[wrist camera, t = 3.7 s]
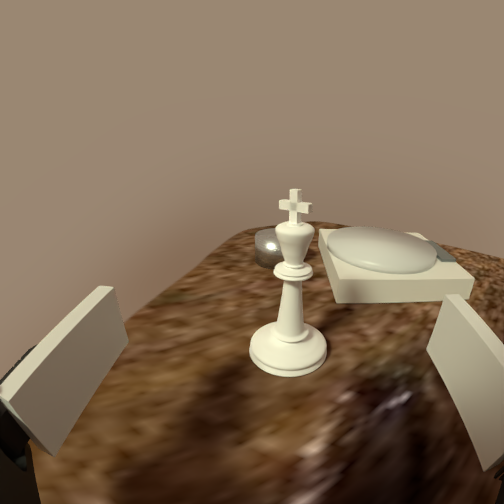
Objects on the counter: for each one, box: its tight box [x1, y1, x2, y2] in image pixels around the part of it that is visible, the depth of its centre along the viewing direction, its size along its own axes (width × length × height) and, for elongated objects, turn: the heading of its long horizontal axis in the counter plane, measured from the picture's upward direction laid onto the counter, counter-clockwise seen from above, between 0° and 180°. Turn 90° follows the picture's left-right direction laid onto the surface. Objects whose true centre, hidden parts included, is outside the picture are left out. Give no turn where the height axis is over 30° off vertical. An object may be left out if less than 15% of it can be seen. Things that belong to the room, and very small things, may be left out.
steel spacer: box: [255, 228, 285, 269], centre depth 31 cm, size 5×5×3 cm
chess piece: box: [249, 189, 327, 377], centre depth 16 cm, size 5×5×10 cm
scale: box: [318, 226, 475, 303], centre depth 28 cm, size 14×14×3 cm
